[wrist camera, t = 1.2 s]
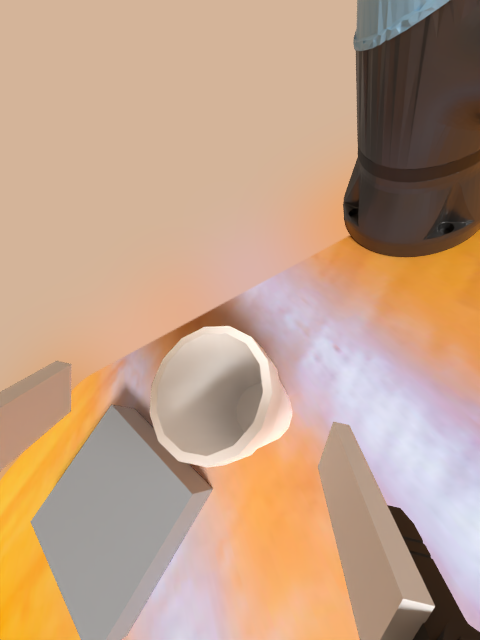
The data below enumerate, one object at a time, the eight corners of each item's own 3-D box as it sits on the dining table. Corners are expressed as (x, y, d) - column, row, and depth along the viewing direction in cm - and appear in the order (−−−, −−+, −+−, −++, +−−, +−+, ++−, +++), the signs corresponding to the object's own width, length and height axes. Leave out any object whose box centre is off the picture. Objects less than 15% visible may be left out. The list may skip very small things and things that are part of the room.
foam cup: (223, 376, 33) (155, 340, 22) (297, 361, 30) (261, 311, 19) (227, 463, 28) (144, 472, 17) (315, 455, 25) (281, 461, 15)
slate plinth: (134, 408, 36) (111, 404, 32) (212, 488, 28) (192, 494, 24) (63, 514, 33) (30, 521, 30) (126, 635, 25) (91, 663, 22)
